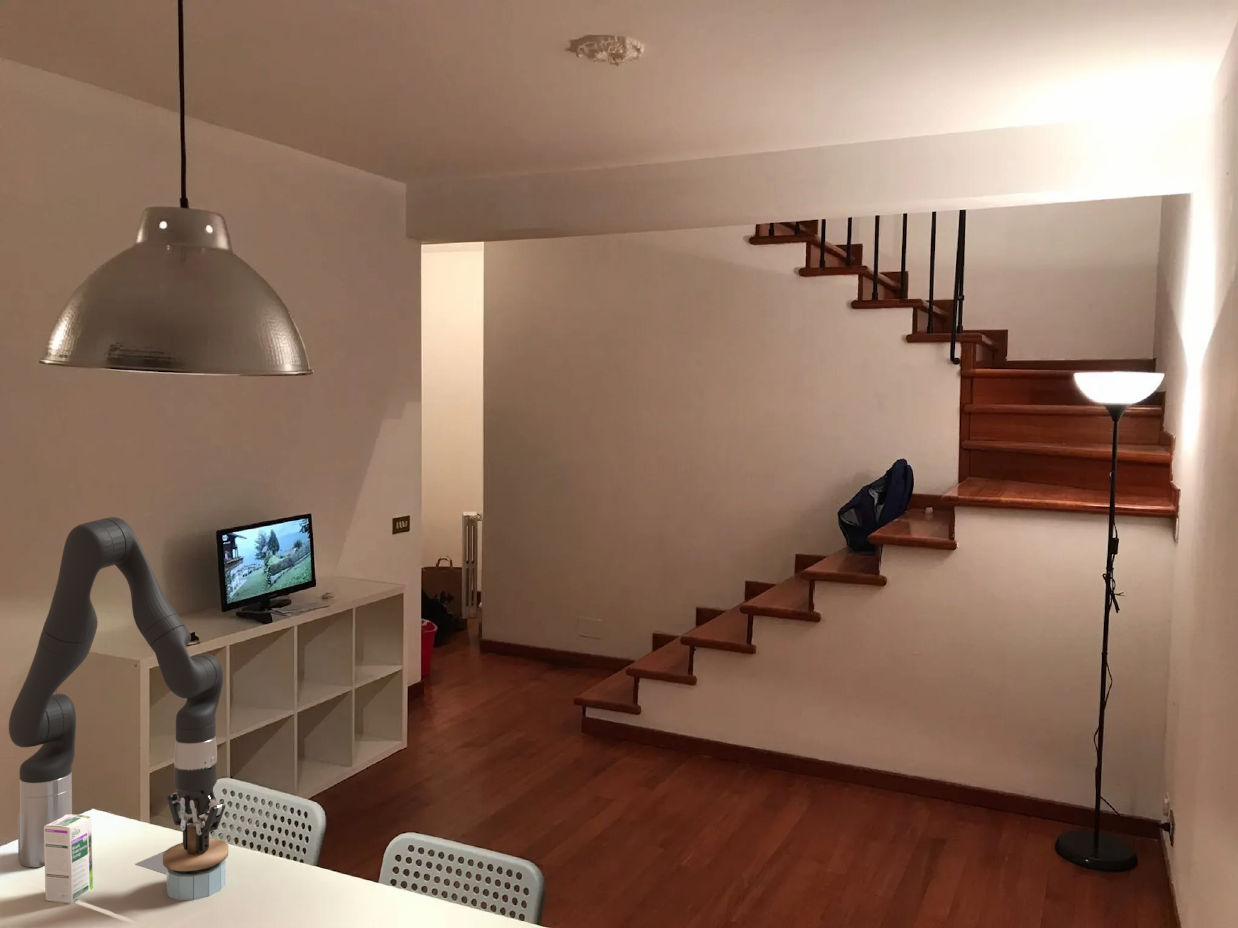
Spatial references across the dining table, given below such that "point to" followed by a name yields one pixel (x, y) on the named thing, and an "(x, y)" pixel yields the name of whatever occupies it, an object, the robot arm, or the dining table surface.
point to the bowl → (195, 882)
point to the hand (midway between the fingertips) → (195, 849)
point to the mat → (154, 863)
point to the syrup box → (68, 858)
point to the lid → (194, 853)
